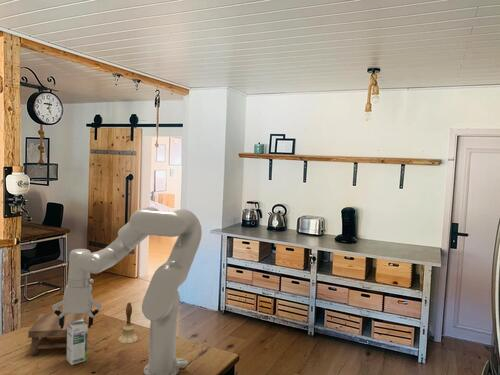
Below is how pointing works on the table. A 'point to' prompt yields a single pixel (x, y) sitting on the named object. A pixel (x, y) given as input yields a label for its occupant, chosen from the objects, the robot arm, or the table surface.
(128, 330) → the hand bell
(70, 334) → the syrup box
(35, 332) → the tan broad flat fixture
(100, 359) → the table surface
